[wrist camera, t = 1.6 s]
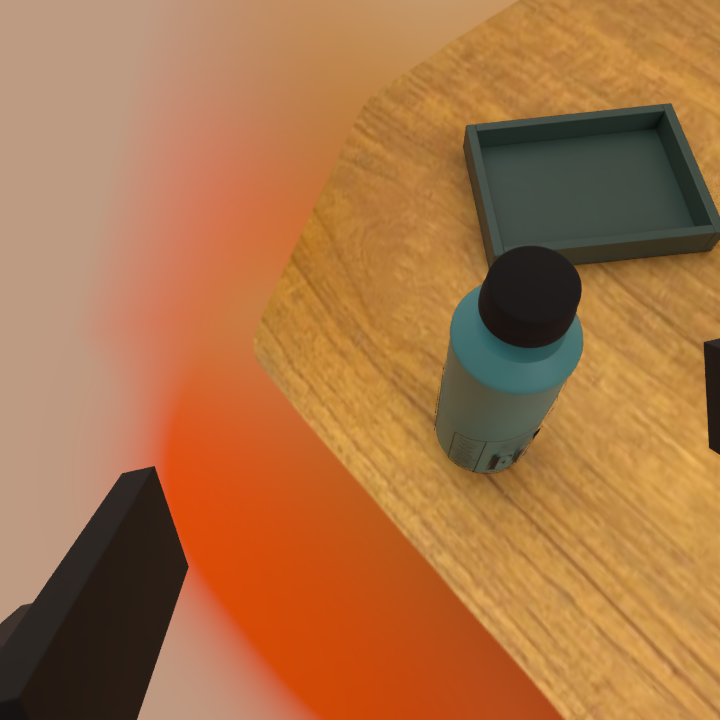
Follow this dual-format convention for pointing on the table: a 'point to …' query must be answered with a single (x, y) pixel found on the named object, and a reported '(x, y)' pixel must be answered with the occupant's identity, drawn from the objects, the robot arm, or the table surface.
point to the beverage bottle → (508, 357)
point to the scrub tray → (590, 186)
